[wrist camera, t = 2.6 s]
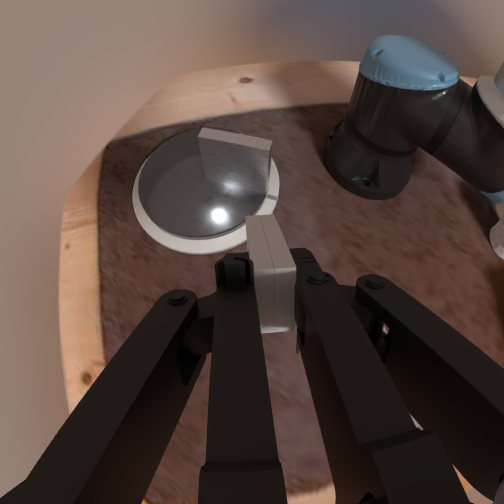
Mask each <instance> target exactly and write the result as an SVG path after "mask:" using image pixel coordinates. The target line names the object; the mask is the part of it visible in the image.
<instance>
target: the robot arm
mask: <svg viewBox="0 0 504 504" xmlns="http://www.w3.org/2000/svg"><path fill="white" fill-rule="evenodd" d="M417 147H420V148H421V149H423V150H424V151H426V152H427V153H429V154H430V155H432V156H433V157H435V158H436V159H437V160H439V161H440V162H442V163H443V164H444V165H446V166H447V167H448V168H450V169H451V170H453V171H454V172H455V173H457V174H458V175H459V176H460V177H462V178H463V179H464V180H466V181H467V182H468V183H469V184H471V185H472V186H473V187H474V189H475V190H477V191H479V192H480V193H482V194H484V195H486V196H487V197H488V198H490V199H491V200H492V201H494V202H496V203H499V204H504V62H503V63H502V65H501V66H500V68H499V70H498V71H497V73H496V75H495V76H481V77H479V79H478V80H477V81H476V83H475V85H474V86H473V87H471V86H470V85H468V84H467V83H465V82H464V81H462V80H461V79H459V68H458V66H457V65H456V63H455V62H454V61H453V60H452V59H451V58H450V57H448V56H446V54H445V53H444V52H443V51H441V50H439V49H438V48H436V47H434V46H432V45H430V44H428V43H425V42H423V41H420V40H417V39H414V38H410V37H406V36H398V35H385V36H380V37H378V38H376V39H374V40H373V41H371V42H370V44H369V45H368V47H367V50H366V52H365V55H364V58H363V60H362V61H361V62H360V65H359V73H358V77H357V80H356V83H355V87H354V90H353V93H352V97H351V100H350V103H349V107H348V110H347V113H346V115H345V116H344V117H343V118H342V119H341V120H340V122H339V123H338V124H337V125H336V126H335V127H334V128H333V129H332V131H331V132H330V133H329V135H328V137H327V140H326V143H325V147H324V152H323V155H324V161H325V164H326V167H327V169H328V171H329V172H330V174H331V175H332V177H333V178H334V179H335V180H336V181H337V182H338V183H339V184H340V185H341V186H342V187H344V188H345V189H347V190H348V191H350V192H352V193H353V194H355V195H358V196H360V197H363V198H367V199H372V200H386V199H390V198H392V197H395V196H396V195H398V194H399V193H400V192H401V191H402V190H403V189H404V187H405V186H406V184H407V183H408V181H409V179H410V177H411V173H412V166H413V161H414V155H415V151H416V149H417ZM245 219H246V237H247V252H245V253H229V254H226V255H225V256H224V257H223V258H222V259H220V260H218V261H217V262H216V263H215V274H216V283H217V291H216V292H214V293H213V294H211V295H209V296H206V297H202V298H198V299H197V296H196V294H195V293H194V292H192V291H189V290H180V289H177V290H172V291H170V292H168V293H165V294H164V295H163V296H161V297H160V298H159V300H158V301H157V302H156V303H155V305H154V306H153V307H152V308H151V310H150V311H149V312H148V313H147V315H146V316H145V317H144V318H143V320H142V321H141V322H140V323H139V325H138V326H137V327H136V328H135V330H134V331H133V332H132V333H131V335H130V336H129V337H128V339H127V340H126V341H125V342H124V344H123V345H122V346H121V348H120V349H119V350H118V351H117V353H116V354H115V355H114V357H113V358H112V359H111V361H110V362H109V363H108V364H107V366H106V367H105V368H104V370H103V371H102V372H101V374H100V375H99V376H98V378H97V379H96V380H95V382H94V383H93V384H92V386H91V387H90V388H89V390H88V391H87V392H86V394H85V395H84V397H83V398H82V399H81V401H80V402H79V403H78V405H77V406H76V407H75V409H74V410H73V412H72V413H71V414H70V416H69V417H68V419H67V420H66V421H65V423H64V424H63V426H62V427H61V428H60V430H59V431H58V433H57V434H56V436H55V437H54V439H53V440H52V441H51V443H50V444H49V446H48V447H47V449H46V450H45V452H44V453H43V454H42V456H41V457H40V459H39V460H38V462H37V463H36V465H35V466H34V468H33V469H32V471H31V472H30V474H29V475H28V477H27V478H26V480H24V481H23V482H21V483H20V484H19V485H18V486H16V487H15V488H13V489H12V490H11V491H9V492H8V493H6V494H5V495H4V496H2V497H1V498H0V504H141V503H142V501H143V499H144V497H145V494H146V492H147V490H148V488H149V485H150V483H151V481H152V479H153V477H154V474H155V472H156V470H157V468H158V465H159V463H160V461H161V459H162V457H163V454H164V452H165V450H166V448H167V445H168V443H169V441H170V439H171V437H172V434H173V432H174V430H175V428H176V425H177V423H178V421H179V419H180V416H181V414H182V412H183V410H184V408H185V405H186V403H187V401H188V399H189V396H190V394H191V392H192V390H193V387H194V385H195V383H196V381H197V378H198V376H199V374H200V372H201V370H202V367H203V365H204V363H205V361H206V356H207V353H210V352H212V355H211V370H210V386H209V403H208V422H207V443H206V461H205V465H203V466H202V467H201V470H200V476H199V492H198V504H288V503H287V497H286V490H285V483H284V476H283V470H282V466H281V463H280V461H279V458H278V452H277V444H276V437H275V430H274V423H273V415H272V408H271V401H270V394H269V386H268V379H267V372H266V364H265V357H264V350H263V343H262V335H261V333H271V332H283V331H294V330H295V321H296V325H297V343H296V353H299V349H300V352H301V356H302V360H303V364H304V367H305V371H306V375H307V379H308V383H309V387H310V390H311V394H312V398H313V402H314V406H315V410H316V414H317V418H318V422H319V426H320V430H321V434H322V438H323V442H324V446H325V450H326V454H327V458H328V462H329V466H330V470H331V474H332V478H333V483H334V487H335V492H336V502H335V504H473V503H471V502H469V499H468V497H467V495H466V493H465V490H464V488H463V486H462V484H461V482H460V480H459V477H458V475H457V473H456V471H455V469H454V467H453V465H454V466H455V467H456V469H457V470H458V471H459V472H460V473H461V475H462V476H463V477H464V478H465V479H466V480H467V481H468V482H469V483H470V484H471V485H472V486H473V487H474V488H475V489H476V490H477V491H479V492H480V493H481V494H482V495H484V496H485V497H487V498H488V499H490V500H492V501H493V504H504V369H503V368H502V367H501V366H500V365H498V364H497V363H496V362H495V361H494V360H492V359H491V358H490V357H489V356H488V355H486V354H485V353H484V352H483V351H481V350H480V349H479V348H478V347H476V346H475V345H474V344H473V343H472V342H470V341H469V340H468V339H467V338H465V337H464V336H463V335H461V334H460V333H459V332H458V331H456V330H455V329H454V328H453V327H451V326H450V325H449V324H447V323H446V322H445V321H443V320H442V319H441V318H440V317H438V316H437V315H436V314H434V313H433V312H432V311H430V310H429V309H428V308H426V307H425V306H424V305H422V304H421V303H420V302H418V301H417V300H416V299H414V298H413V297H412V296H410V295H409V294H407V293H406V292H405V291H403V290H402V289H401V288H399V287H398V286H396V285H395V284H394V283H392V282H391V281H390V280H388V279H386V278H384V277H382V276H378V275H375V274H374V275H373V274H369V275H363V276H361V277H359V278H358V279H357V282H356V286H346V285H339V284H338V283H337V281H336V280H335V278H334V277H333V276H332V275H331V274H329V273H327V272H323V271H322V270H321V268H320V266H319V264H318V263H317V261H316V259H315V258H314V256H313V254H312V252H311V251H309V250H307V249H306V248H294V249H288V246H287V244H286V242H285V239H284V237H283V235H282V232H281V230H280V228H279V225H278V223H277V221H276V218H275V216H274V214H267V215H250V216H245ZM384 323H385V324H386V325H387V326H388V327H389V332H388V334H386V333H385V332H384V331H383V327H384ZM411 416H412V417H413V418H414V419H415V421H416V422H417V423H418V424H419V425H420V426H421V428H422V429H423V430H420V429H418V428H417V427H416V425H415V424H414V421H413V419H412V417H411ZM452 464H453V465H452Z"/></svg>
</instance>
